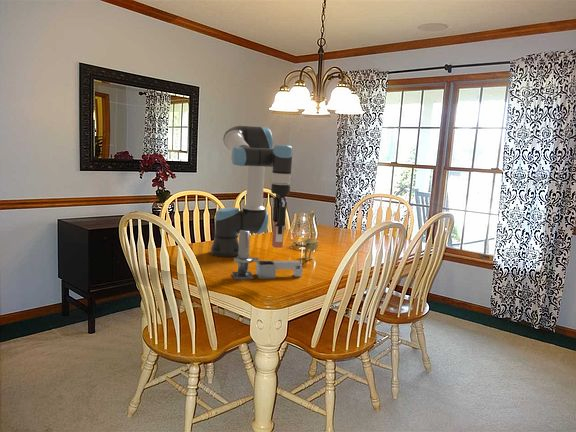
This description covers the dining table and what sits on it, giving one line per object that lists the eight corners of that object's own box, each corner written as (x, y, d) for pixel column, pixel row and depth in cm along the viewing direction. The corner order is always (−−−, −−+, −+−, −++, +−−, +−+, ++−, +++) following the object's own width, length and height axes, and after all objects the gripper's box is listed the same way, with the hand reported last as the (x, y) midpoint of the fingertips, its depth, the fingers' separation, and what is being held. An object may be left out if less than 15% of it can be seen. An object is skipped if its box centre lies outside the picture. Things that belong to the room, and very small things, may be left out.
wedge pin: (272, 245, 187) (273, 221, 185) (280, 245, 188) (281, 221, 186) (274, 247, 184) (275, 223, 182) (282, 247, 185) (284, 223, 183)
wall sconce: (302, 255, 236) (305, 208, 232) (320, 258, 233) (323, 210, 229) (295, 262, 222) (298, 212, 218) (313, 264, 220) (317, 214, 216)
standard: (232, 274, 196) (233, 229, 193) (255, 273, 199) (257, 229, 196) (234, 279, 189) (236, 232, 186) (258, 279, 191) (261, 233, 188)
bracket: (255, 273, 199) (256, 259, 198) (298, 273, 204) (299, 259, 202) (258, 278, 192) (259, 264, 191) (303, 278, 197) (304, 263, 196)
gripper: (295, 186, 174) (291, 245, 179) (285, 181, 190) (281, 235, 194) (276, 185, 173) (273, 245, 177) (267, 181, 188) (264, 235, 193)
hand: (277, 240), depth 185 cm, fingers closed on wedge pin, 4 cm apart
